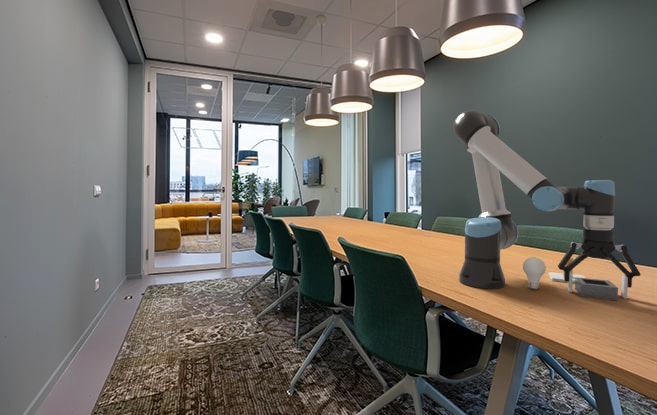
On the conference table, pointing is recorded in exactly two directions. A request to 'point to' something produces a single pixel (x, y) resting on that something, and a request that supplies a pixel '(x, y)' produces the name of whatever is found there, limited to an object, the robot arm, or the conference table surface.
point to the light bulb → (534, 271)
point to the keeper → (560, 276)
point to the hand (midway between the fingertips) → (596, 294)
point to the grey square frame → (596, 288)
